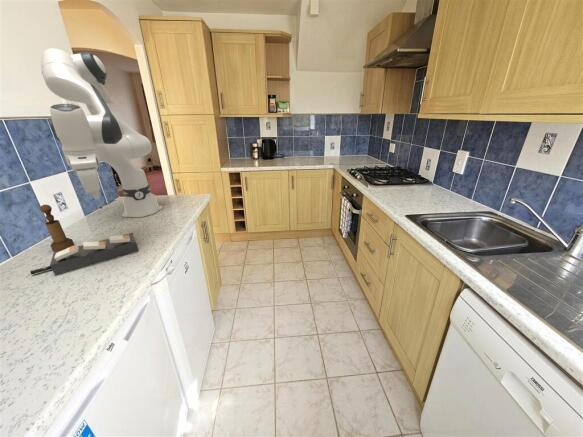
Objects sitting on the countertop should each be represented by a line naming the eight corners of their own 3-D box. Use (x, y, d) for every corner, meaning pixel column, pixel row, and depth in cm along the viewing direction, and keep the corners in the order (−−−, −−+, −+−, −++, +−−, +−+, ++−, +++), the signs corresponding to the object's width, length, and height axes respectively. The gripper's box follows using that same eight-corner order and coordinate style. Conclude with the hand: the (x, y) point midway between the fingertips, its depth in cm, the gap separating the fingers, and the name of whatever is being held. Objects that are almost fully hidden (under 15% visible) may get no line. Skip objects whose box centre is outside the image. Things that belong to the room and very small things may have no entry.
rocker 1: (58, 255, 82) (55, 252, 81) (78, 246, 85) (76, 243, 84) (56, 261, 79) (53, 258, 78) (78, 251, 82) (75, 248, 81)
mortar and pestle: (54, 253, 92) (33, 209, 85) (50, 248, 96) (30, 206, 89) (76, 246, 97) (58, 204, 90) (71, 241, 101) (53, 200, 93)
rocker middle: (83, 244, 85) (83, 241, 85) (104, 244, 89) (105, 241, 89) (83, 249, 82) (83, 245, 82) (105, 248, 86) (105, 245, 86)
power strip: (35, 268, 83) (29, 256, 81) (135, 241, 100) (132, 230, 98) (29, 282, 76) (22, 270, 74) (138, 251, 92) (135, 240, 90)
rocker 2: (109, 238, 89) (109, 235, 89) (128, 237, 93) (128, 234, 93) (109, 243, 86) (109, 239, 86) (129, 241, 90) (129, 238, 90)
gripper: (71, 154, 85) (85, 191, 91) (70, 165, 71) (86, 208, 77) (94, 152, 89) (105, 188, 95) (96, 162, 75) (110, 204, 80)
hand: (96, 197), depth 86 cm, fingers closed
